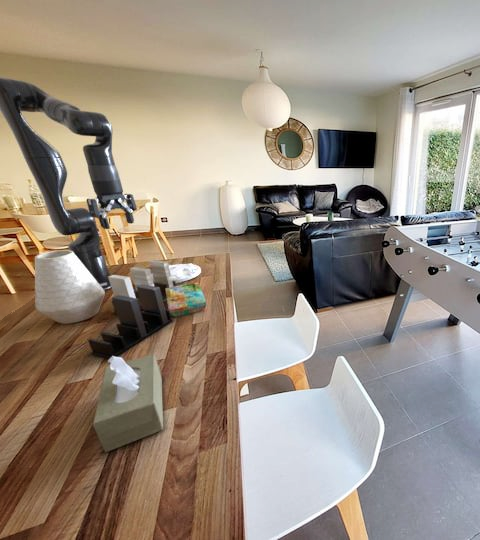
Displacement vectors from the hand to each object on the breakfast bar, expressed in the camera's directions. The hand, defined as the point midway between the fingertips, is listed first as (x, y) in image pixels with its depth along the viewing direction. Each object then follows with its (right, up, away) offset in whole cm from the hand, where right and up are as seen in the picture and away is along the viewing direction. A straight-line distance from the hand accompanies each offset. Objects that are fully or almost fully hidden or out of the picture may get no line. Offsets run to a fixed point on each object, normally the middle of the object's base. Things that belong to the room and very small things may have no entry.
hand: (119, 225), depth 102 cm
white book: (+2, -30, +2) cm, 30 cm away
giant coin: (0, -19, +33) cm, 38 cm away
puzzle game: (+18, -29, +10) cm, 36 cm away
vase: (-14, -32, -1) cm, 35 cm away
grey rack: (+14, -37, -10) cm, 41 cm away
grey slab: (+3, -28, +10) cm, 30 cm away
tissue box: (+34, -49, -35) cm, 69 cm away
